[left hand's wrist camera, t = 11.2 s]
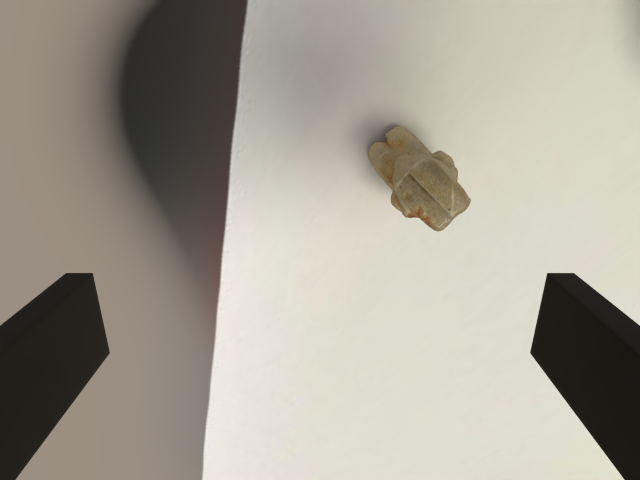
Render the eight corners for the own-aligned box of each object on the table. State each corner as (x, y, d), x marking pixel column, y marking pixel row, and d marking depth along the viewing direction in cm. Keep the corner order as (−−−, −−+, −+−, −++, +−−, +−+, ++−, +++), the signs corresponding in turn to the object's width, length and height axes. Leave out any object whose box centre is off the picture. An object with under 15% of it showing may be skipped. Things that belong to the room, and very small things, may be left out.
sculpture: (404, 113, 41) (448, 135, 27) (447, 169, 43) (508, 216, 29) (356, 153, 43) (376, 193, 29) (400, 206, 45) (438, 267, 31)
